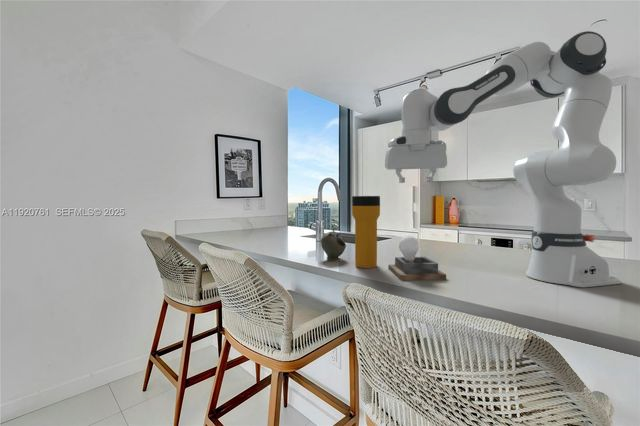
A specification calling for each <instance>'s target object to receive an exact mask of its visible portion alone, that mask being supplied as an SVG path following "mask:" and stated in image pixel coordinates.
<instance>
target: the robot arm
mask: <svg viewBox="0 0 640 426" xmlns="http://www.w3.org/2000/svg"><path fill="white" fill-rule="evenodd" d="M607 47H608V46H607V43H606V40H605V38H604V37H603V36H602V35H601V34H600V33H597V32H594V31H590V30H589V31H588V30H585V31H581V32H578V33H577V34H575V35H573V36H572V37H570V38H569V39H567V40H566V41H565V42H564V43H563V45H561V47H560V48H559V49H558V50H557V51H554V50H551V47H550V46H549V45H548V44H547V43H545V42H543V41H534V42H531V43H528V44H526V45H524V46H521V47H519V48H517V49H515V50H512V51H511V52H509V53H508V54H507V55H505V56H503V57H502V58H500V59H499V60H497V61H496V62H495V63H494V64H493V65H491V66H490V67H489V68H488V69H487V70H486V73H485V74H484V75H483V76H481V77H480V78H477V79H476V80H475V81H473V82H471V83H469V84H468V85H465V86H460V87H459V86H458V87H452V88H450V89H447V90H445V91H443V93H442V94H441V95H439V97H438V96H437V95H435V94H432V93H431V92H429V91H428V89H426V88H418V89H413V90H412V91H410V92H409V91H408V92H407V94H406V95H405V96H404V97H403V100H402V103H401V104H402V105H401V122H402V130H401V135H400V136H397V137H395V138H393V139H390V141H388V142H387V146H388V149H387V150H386V152H385V156H384V157H385V159H384V168H385V169H386V170H387V171H389V170H391V171H392V170H395V174H396V176H397V177H398V183H399V184H403V183H404V184H405V183H406V177H403V175H402V174H401V173H402V172H403V170H417V169H418V170H419V169H420V170H421V169H422V170H423V169H426V170H427V169H428V170H429V172H430V174H429V176H426V183H433V181H434V176H435V175H436V173H437V169H443V168H444V169H445V168H446V167H447V166H448V155H447V143H445V142H444V141H443V140H439V139H438V140H433V139H432V140H430V138H431V135H430V134H431V133H430V132H431V131H438V132H441V131H445V130H448V129H450V128H452V127H453V126H455V125H457V124H459V123H462V122H463V121H465V120H466V119H467V118H468V117H469V116H470V115H471V113H473V110H475V108H476V106H477V105H479V104H480V103H482V102H483V101H486V100H487V99H488V98H490V97H492V96H494V95H496V96H505V95H506V94H509V93H512V92H514V91H516V90H517V89H519V88H521V87H523V86H525V85H526V84H527V83H529V82H530V86H532V87H533V88H534V90H535V91H536V93H537V94H539V95H540V96H542V97H543V98H547V99H548V98H549V99H551V98H556V97H559V96H562V95H563V100H562V102H561V104H560V107H559V110H558V111H557V113H556V116H555V119H554V122H553V124H552V127H551V134H552V136H553V137H554V138H555V140H557V141H559V142H561V145H560V146H559V147H558V148H555V149H549V150H544V151H542V150H541V151H537V152H532V153H530V154H526V155H523V156H522V157H519V158H518V159H517V160H516V162H515V163H514V165H513V177H514V179H515V180H516V182H517V183H518V184H520V185H521V186H523V188H524V189H525V190H526V192H527V193H528V195H529V198H530V199H531V203H532V206H533V207H532V208H533V230H532V231H531V246H532V250H531V255H530V260H529V264H528V268H527V269H526V272H525V275H526V276H527V277H529V278H531V279H535V280H537V281H542V282H546V283H551V284H553V283H554V284H561V285H566V286H570V287H571V286H572V287H575V288H576V287H577V288H591V287H600V286H610V285H611V286H612V285H620V284H621V280H620V279H619V278H617V277H614V276H611V275H610V270H609V269H610V268H609V263H608V261H607V260H606V259H605V258H603V257H602V256H601V255H599V254H598V253H596V252H595V251H594V250H592V249H591V248H589V247H588V246H587V243H586V242H589V243H593V242H594V241H595V240H596V236H595V235H593V234H583V233H582V232H581V231H582V212H583V211H582V207H581V205H580V204H579V203H578V202H577V201H575V200H572V199H571V198H569V197H567V195H566V194H565V192H564V186H585V185H590V184H596V183H600V182H604V181H606V180H608V179H609V178H611V176H612V175H613V173H614V172H615V170H616V168H617V158H616V155H615V153H614V151H612V150H611V149H610V148H609V147H608V146H606V145H604V144H603V143H602V142H601V140H600V137H599V136H600V131H601V128H602V123H603V120H604V118H605V115H606V114H607V111H608V108H609V105H610V101H611V98H612V97H611V96H612V90H613V82H612V79H611V78H610V77H609V76H607V75H605V74H603V73H602V74H601V73H600V71H601V70H602V69H603V68H605V66H606V64H607V58H606V54H607V49H608V48H607Z"/></svg>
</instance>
